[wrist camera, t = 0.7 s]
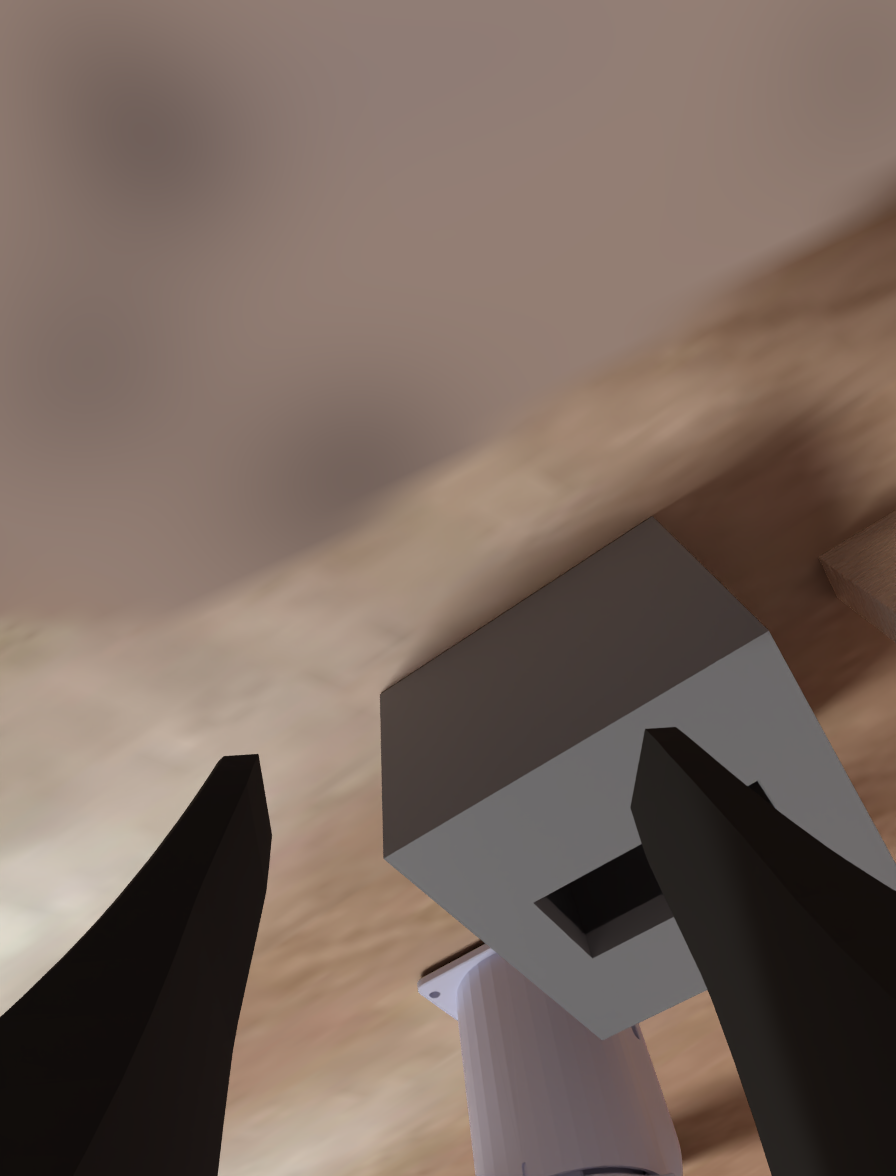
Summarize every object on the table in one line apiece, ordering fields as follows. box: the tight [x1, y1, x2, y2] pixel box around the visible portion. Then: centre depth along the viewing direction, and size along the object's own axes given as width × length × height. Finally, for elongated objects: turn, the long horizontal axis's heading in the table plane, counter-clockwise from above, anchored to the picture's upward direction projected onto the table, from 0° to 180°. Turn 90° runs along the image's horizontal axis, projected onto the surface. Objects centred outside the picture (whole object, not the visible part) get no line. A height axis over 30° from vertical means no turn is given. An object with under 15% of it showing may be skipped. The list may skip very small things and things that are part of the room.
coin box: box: [380, 516, 896, 1040], centre depth 22 cm, size 12×11×7 cm
